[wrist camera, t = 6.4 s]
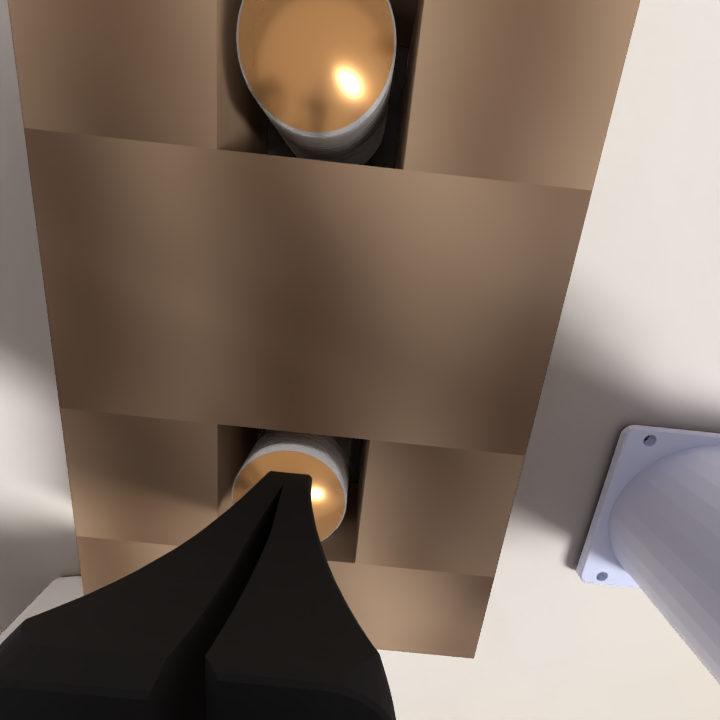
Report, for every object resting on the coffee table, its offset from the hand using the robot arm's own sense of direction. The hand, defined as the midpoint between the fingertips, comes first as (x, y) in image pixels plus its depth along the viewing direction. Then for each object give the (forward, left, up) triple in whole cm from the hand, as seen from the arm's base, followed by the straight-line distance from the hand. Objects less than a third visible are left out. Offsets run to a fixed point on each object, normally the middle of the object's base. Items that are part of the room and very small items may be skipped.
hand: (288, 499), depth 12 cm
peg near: (0, -12, -4) cm, 13 cm away
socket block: (0, -6, -5) cm, 8 cm away
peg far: (0, 0, -4) cm, 4 cm away
